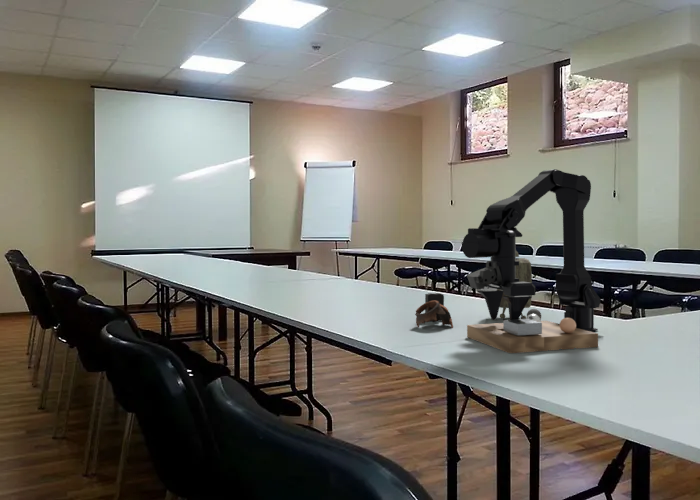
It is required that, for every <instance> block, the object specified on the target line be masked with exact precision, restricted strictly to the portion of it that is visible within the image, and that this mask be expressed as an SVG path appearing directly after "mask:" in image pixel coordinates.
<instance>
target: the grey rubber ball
mask: <svg viewBox="0 0 700 500" xmlns="http://www.w3.org/2000/svg"><path fill="white" fill-rule="evenodd" d="M530 314H536V315H538V316H539V317H540V319H541V320H542V313H541V311H540V310H539V309H536V308H531V309H528V311H527V313H526V317H527V316H528V315H530Z"/></svg>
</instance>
